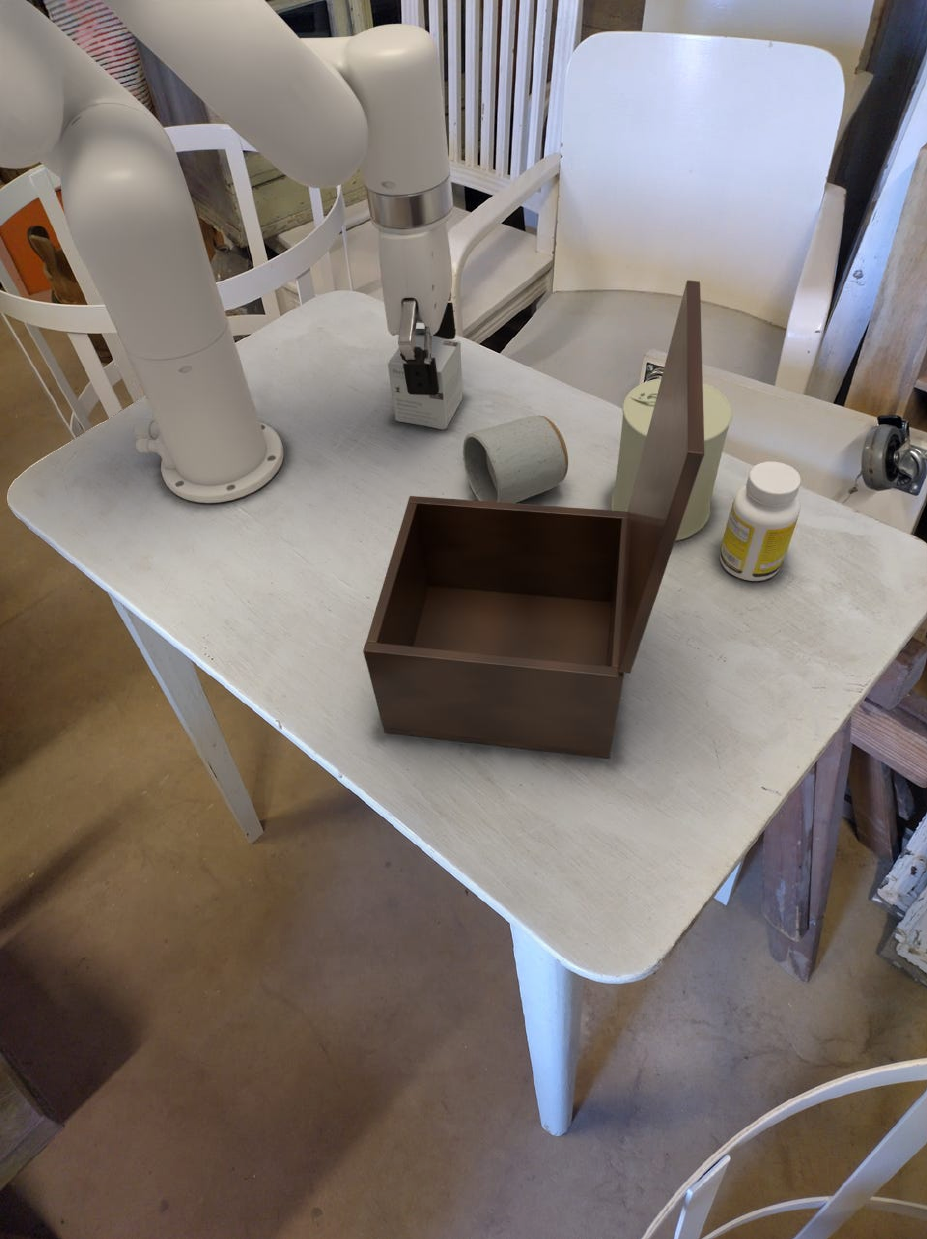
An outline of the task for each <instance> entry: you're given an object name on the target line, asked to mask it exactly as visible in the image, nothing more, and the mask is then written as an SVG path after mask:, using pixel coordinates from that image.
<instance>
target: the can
mask: <svg viewBox="0 0 927 1239" xmlns="http://www.w3.org/2000/svg"><path fill="white" fill-rule="evenodd" d="M661 378H662V377H659V378H654V379H651V380H646V381H645V382H642V383H640V384H638V385H637V386H635V387H634V388H633V389H631V391H629V392H628V393H627V395H626V396H625V398H624V400H623V402H622V419H621V430H620V440H619V450H618V459H617V466H616V474H615V485H614V490H613V494H612V497H611V502H610V508H611V510H612V511H625V512H628V506H629V502H630V498H631V494H632V490H633V486H634V483H635V479H636V475H637V471H638V467H639V463H640V459H641V456H642V452H643V448H644V444H645V440H646V436H647V432H648V428H649V425H650V421H651V417H652V413H653V409H654V405H655V401H656V398H657V394H658V390H659V386H660V382H661ZM703 415H704V457H703V460H702V463H701V466H700V469H699V472H698V475H697V478H696V481H695V484H694V487H693V490H692V493H691V496H690V499H689V502H688V505H687V508H686V511H685V513H684V516H683V519H682V522H681V525H680V528H679V531H678V534H677V537H676V540H675V542H678V541H681V540H685V539H688V538H690V537H692V536H694V535H696V534H698V532H700V531H701V530H702V529H703V528H704V526H706V524H707V523H708V520H709V517H710V512H711V508H710V506H711V501H712V500H711V499H712V496H713V492H714V487H715V483H716V480H717V476H718V472H719V466H720V463H721V459H722V455H723V450H724V447H725V443H726V439H727V435H728V431H729V429H730V428H729V427H730V425H731V423H732V420H733V408H732V405H731V403H730V401H729V400H728V398H727V397H726V396H725V394H723V392H722V391H720V390H719V389H717V388H716V387H714V386H712V385H710V384H708V383H706V382H703Z"/></svg>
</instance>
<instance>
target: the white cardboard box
mask: <svg viewBox="0 0 927 1239" xmlns="http://www.w3.org/2000/svg"><path fill="white" fill-rule="evenodd" d="M415 341H416V347H420V348H422V349H423V350H424V337H415ZM461 346H462V345H461V340H457V339H444V338H440V337H437V336H432V358H435V361H436V368H437V376H438V383H439V392H438V394H437V395H412V394H409V393H408V391H407V386H406V380H405V374H404V368H403V364H402V360H401V356H400V354H401V352H400V348H399V347H398V348H397V350H396V351H395V353H394V354H393V355H392V357H391V358H390V360H389V361H388V363H387V367H388V375H389V382H390V392H391V398H392V407H393V414H394V420H395V421H397V422H400V423H405V424H413V425H418V426H423V427H424V426H425V427H429V428H434V429H437V430H446V429H447V428H448V426H449V424H450V422H451V421H452V419H453V417H454V415H455V413H456V411H457V409H458V407H459V406H460V404H461V402H462V400H463V397H464V396H463V395H464V394H463V392H464V391H463V372H462V370H463V369H462V348H461Z"/></svg>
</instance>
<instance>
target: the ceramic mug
mask: <svg viewBox="0 0 927 1239" xmlns="http://www.w3.org/2000/svg"><path fill="white" fill-rule="evenodd" d="M462 456H463V464H464V469H465V472H466V476H467V479H468V482H469V485H470V487H471V489H472V492H473V493H474V495H475V497H476V498H477V501H487V502H501V503H515V504H518V503H519V502H521V501H524V500H526V499H529V498H531V497H534V496H537V495H540V494H543V493H544V492H547V491H549V490H552V489H553V488H555V487H557V486H558V485H559V484H561V483H562V482H563V481H564V480H565V478H566V475H567V473H568V469H569V454H568V449H567V445H566V442H565V440H564V437H563V435H562V433H561V431H560V429H559V428H558V426H557V425H556V423H554V422H553V421H552V420H551V419H549V418H548V417H546V416H543V415H532V416H525V417H521V418H518V419H514V420H511V421H509V422H505V423H501V424H497V425H494V426H490V427H486V428H483V429H478V430H475V431H472V432H469V433H468V434H467V435H466V436H465V438H464V440H463V445H462Z"/></svg>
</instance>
